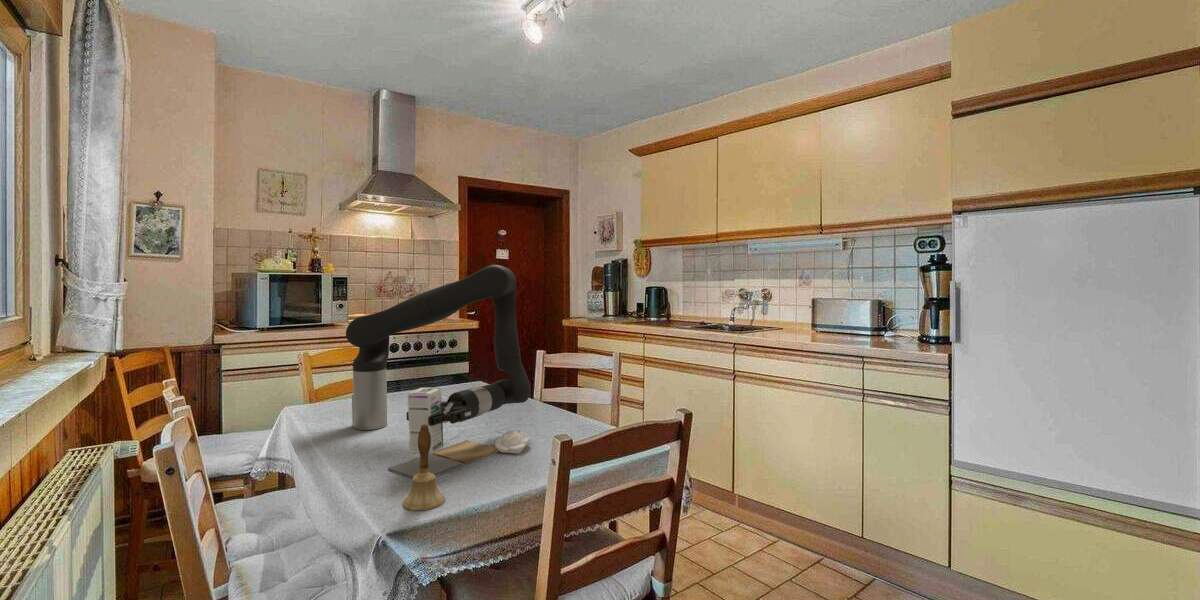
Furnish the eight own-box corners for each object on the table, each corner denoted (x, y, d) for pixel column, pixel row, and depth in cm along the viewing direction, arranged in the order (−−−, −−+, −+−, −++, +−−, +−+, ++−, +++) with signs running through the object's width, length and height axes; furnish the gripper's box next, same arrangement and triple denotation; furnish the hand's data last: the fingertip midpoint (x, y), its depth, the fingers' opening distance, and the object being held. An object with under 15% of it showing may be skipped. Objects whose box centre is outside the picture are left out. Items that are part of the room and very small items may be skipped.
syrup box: (432, 454, 129) (430, 393, 128) (409, 453, 130) (407, 392, 129) (443, 446, 134) (442, 387, 133) (421, 445, 135) (419, 386, 134)
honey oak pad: (431, 454, 141) (431, 452, 141) (466, 442, 151) (466, 440, 151) (465, 464, 135) (465, 461, 135) (499, 450, 145) (499, 448, 145)
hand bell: (433, 490, 119) (432, 417, 118) (452, 502, 113) (451, 425, 112) (395, 501, 113) (394, 424, 112) (413, 515, 107) (412, 434, 106)
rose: (538, 435, 144) (503, 439, 139) (537, 452, 144) (502, 456, 139) (523, 424, 153) (490, 426, 148) (522, 439, 153) (488, 442, 148)
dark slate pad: (387, 470, 130) (387, 467, 130) (428, 455, 140) (428, 453, 140) (422, 481, 124) (422, 478, 124) (462, 465, 134) (462, 462, 134)
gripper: (450, 386, 147) (397, 399, 133) (490, 392, 139) (438, 407, 125) (451, 413, 147) (398, 430, 134) (490, 421, 140) (439, 439, 126)
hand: (418, 419), depth 130 cm, fingers closed on syrup box, 7 cm apart
